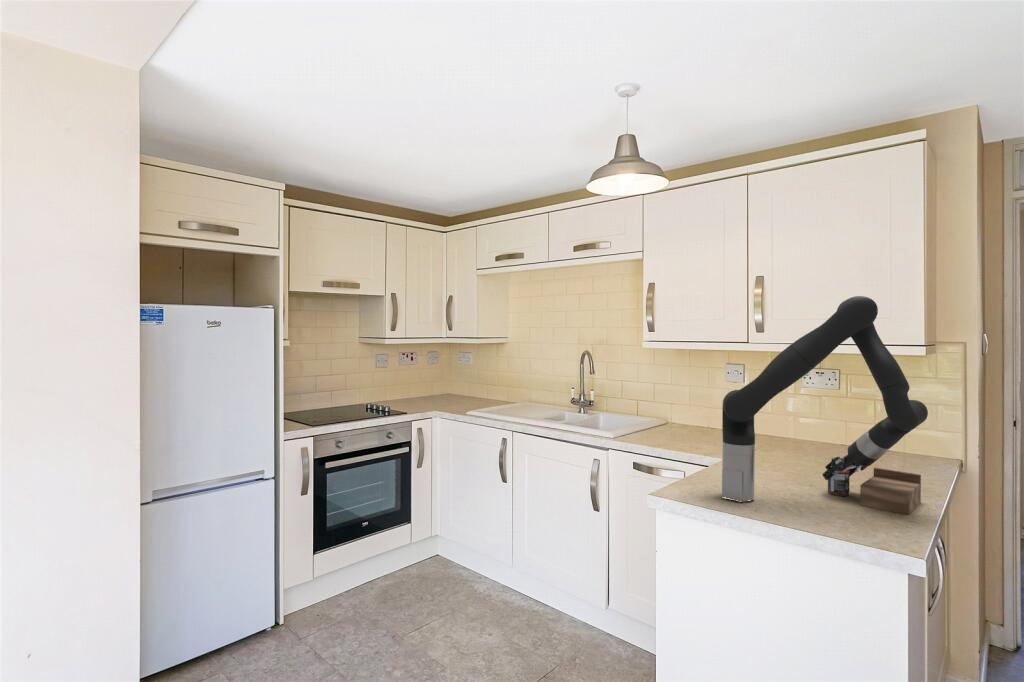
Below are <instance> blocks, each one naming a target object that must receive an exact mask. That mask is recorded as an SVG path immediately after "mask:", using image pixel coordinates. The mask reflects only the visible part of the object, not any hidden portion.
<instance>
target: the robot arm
mask: <svg viewBox="0 0 1024 682" xmlns="http://www.w3.org/2000/svg"><path fill="white" fill-rule="evenodd" d="M878 312H879V308H878V305H877V303H876V302H875V301H874V299H872V298H870V297H867V296H863V295H855V296H852V297H850V298H847V299H845V300H843V301H842V302H841V303H840V304H839V305H838V306H837V309H836V311H835V312H834V313H833V314H832V315H831V316H830V317H829V318H828V319H826V320H825V321H824V322H823V323H822V324H821V325H819V326H818V327H816V328H814V329H813V330H810V332H808V333H806V334H804V335H802V336H801V337H800V338H798V339H797V340H794V341H793V343H791V344H789V345H788V346H787V347H786V348H785V349H783V350H782V351H781V352H779V353H778V354H777V355H776V356H775V357H774V358H773V359H772V360H771V361H770V363H768V365H767V366H765V368H764V369H763V370H762V372H760V374H759V375H758V376H757V377H755V378H754V379H753V380H752V381H750V382H749V383H748V384H746V385H745V386H742V388H740V389H733V390H731V391H729V392H727V394H725V396H724V397H723V400H722V407H721V408H722V411H721V412H722V414H721V415H722V416H721V417H722V418H721V419H722V421H721V422H722V424H721V425H722V426H721V427H722V428H721V429H722V430H721V431H722V457H721V458H722V460H721V461H722V464H721V465H722V468H721V482H722V483H721V498H722V497H726V498H730V499H734V500H738V501H748V500H753V499H754V500H755V471H756V470H755V464H756V463H755V462H756V460H755V459H756V456H755V455H756V453H755V451H756V432H755V416H756V414H757V413H759V411H761V409H763V408H764V406H766V405H767V403H769V402H770V401H771V400H772V399H773V398H774V397H776V396H777V395H778V394H780V393H782V392H783V391H784V390H786V389H788V388H790V387H791V386H792V385H794V384H795V383H796V382H798V381H799V380H801V379H802V378H803V377H804V376H806V375H807V374H808V373H809V372H811V371H813V370H814V368H816V367H817V366H819V364H821V363H822V362H823V361H824V360H825V359H826V358H827V357H829V355H830V354H831V353H833V351H835V349H836V348H838V347H839V346H841V344H842V343H843V342H845V341H847V340H848V339H849V338H851V339H852V341H853V342H854V344H855V346H856V347H857V349H858V350H859V352H860V354H861V355H862V357H863V359H864V362H865V363H866V366H867V368H868V369H869V371H870V373H871V375H872V378H873V380H874V381H875V384H876V386H877V387H878V390H879V391H880V393H881V396H882V401H883V405H884V409H885V413H886V417H885V418H883V419H882V420H880V421H878V422H877V423H876V424H875V425H873V427H871V428H870V429H869V430H867V431H866V432H864V433H863V434H862V435H860V436H859V437H858V438H857V439H856V440H855V441H853V442H852V443H851V444H850V445H849V446H848V447H847V454H846V455H844V456H842V457H840V456H836V458H835V459H834V460H833V461H830V462H829V463H828V464H827V465H825V466H824V468H825V469H826V470H825V471H824V472H823V473H822V477H823V478H824V480H826V481H828V480H829V479H830V478H831V477H832V476H834V475H835V474H836V473H838V472H844V471H846V470H848V469H849V470H850V471H849V473H850V474H849V478H850V477H851V476H853V475H854V474H855V473H857V472H860V471H861V472H863V471H864V470H866V469H867V468H868V467H870V466H872V465H873V464H874V463H875V462H877V461H878V460H879V459H880V458H882V457H883V456H884V455H885V454H886V453H887V452H888V451H889V450H890V449H891V448H892V447H894V446H895V445H896V444H897V443H899V441H901V439H902V438H903V437H905V436H906V435H907V434H908V433H910V432H911V431H913V430H914V429H915V428H917V427H918V426H919V425H921V424H923V423H925V421H926V420H927V418H928V416H929V410H928V407H927V406H926V405H925V404H924V403H923V402H922V401H920V400H916V399H909V395H908V393H909V392H910V388H911V387H910V384H909V382H908V379H907V377H906V376H905V374H904V372H903V370H902V368H901V366H900V365H899V363H898V362H897V360H896V359H895V356H893V354H892V353H891V352H890V351H889V349H888V348H887V347H886V345H885V344H884V341H882V339H881V338H880V335H879V334H878V332H877V330H876V326H875V324H874V322H875V320H876V319H877V316H878ZM840 458H842V459H840ZM841 466H843V467H844V468H843V469H842V468H841ZM838 468H839V469H838ZM837 469H838V470H837Z"/></svg>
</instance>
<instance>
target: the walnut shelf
mask: <svg viewBox="0 0 1024 682" xmlns="http://www.w3.org/2000/svg"><path fill="white" fill-rule="evenodd" d="M921 488H922V474H919V473H912V472H907V471H899V470H893V469H887V468H879V467H873V476H871V477H870V478H869V479H867V480H866V481H864V482H863V483H861V484H860V488H859V489H860V490H859V491H860V492H859V493H860V494H859V495H860V496H859V497H860V498H859V499H860V500H859V505H860V506H864V507H869V508H873V509H879V510H883V511H888V512H894V513H898V514H902V515H907V516H909V515H911V513H912V512H913V511H914V510H915V509H916V508H917V507H918V506H919V505H920V504H921V501H922V500H921V499H922V497H921V496H922V495H921V493H922V491H921V490H922V489H921Z"/></svg>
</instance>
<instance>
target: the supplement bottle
mask: <svg viewBox="0 0 1024 682" xmlns="http://www.w3.org/2000/svg"><path fill="white" fill-rule="evenodd" d="M836 457H837V456H836ZM836 457H831V461H833V460H834V459H835V458H836ZM842 458H843V457H840V459H842ZM831 461H830V462H831ZM841 468H842V469H843V468H844V467H843V466H841ZM838 469H839V468H838ZM838 469H837V470H838ZM849 471H850V470H849V469H848V470H846V471H844V472H838V473H836V474H835V475H834V476H832V477H831V478H830V479H829V480H827V492H828V493H829V494H830V495H832V494H833V496H836V495H838V496H839V497H847V496H849V495H850V477H849V474H850V473H849ZM838 496H837V497H838Z"/></svg>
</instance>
